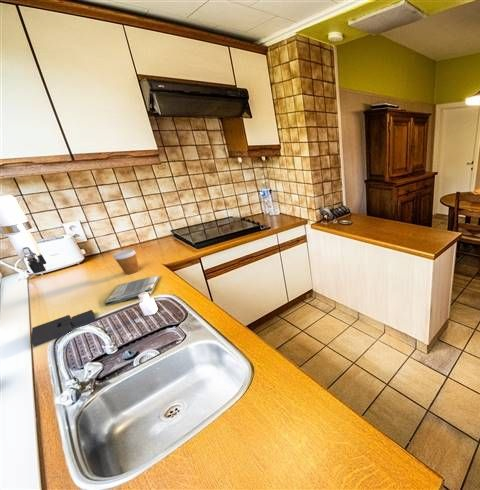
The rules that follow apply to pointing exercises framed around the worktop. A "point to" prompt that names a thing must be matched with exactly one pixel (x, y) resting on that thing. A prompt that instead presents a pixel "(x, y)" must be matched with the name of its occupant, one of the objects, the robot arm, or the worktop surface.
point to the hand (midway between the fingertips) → (40, 268)
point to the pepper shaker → (147, 304)
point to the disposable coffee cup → (127, 261)
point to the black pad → (80, 319)
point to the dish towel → (132, 290)
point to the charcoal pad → (50, 331)
